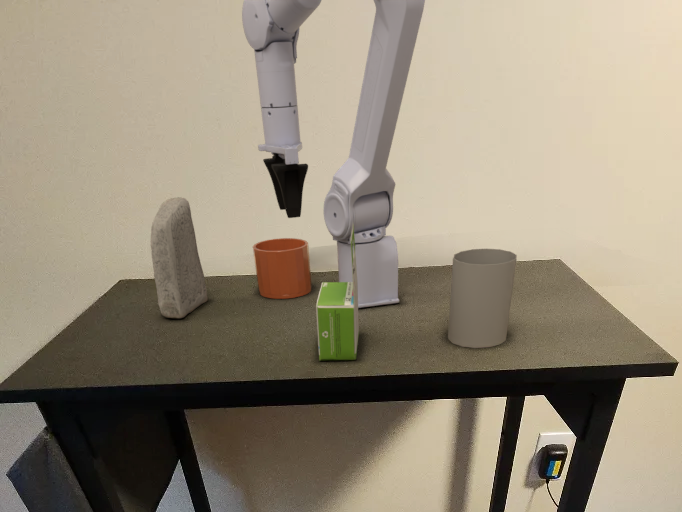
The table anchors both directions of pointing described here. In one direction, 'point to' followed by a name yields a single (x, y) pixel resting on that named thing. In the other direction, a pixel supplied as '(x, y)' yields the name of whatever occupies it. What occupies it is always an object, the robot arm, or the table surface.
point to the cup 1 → (282, 268)
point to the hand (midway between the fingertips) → (289, 213)
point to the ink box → (338, 317)
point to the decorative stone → (176, 260)
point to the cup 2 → (481, 297)
